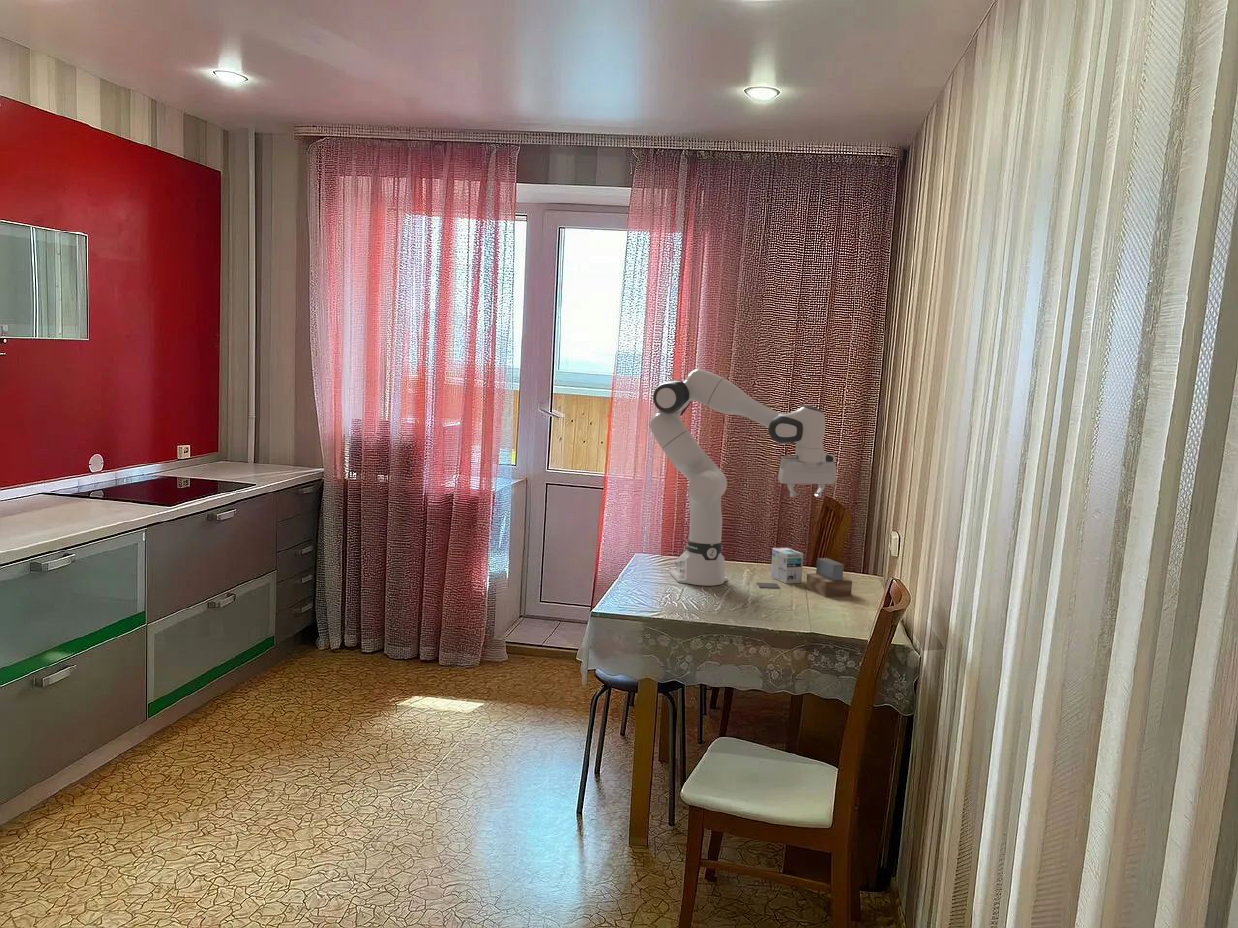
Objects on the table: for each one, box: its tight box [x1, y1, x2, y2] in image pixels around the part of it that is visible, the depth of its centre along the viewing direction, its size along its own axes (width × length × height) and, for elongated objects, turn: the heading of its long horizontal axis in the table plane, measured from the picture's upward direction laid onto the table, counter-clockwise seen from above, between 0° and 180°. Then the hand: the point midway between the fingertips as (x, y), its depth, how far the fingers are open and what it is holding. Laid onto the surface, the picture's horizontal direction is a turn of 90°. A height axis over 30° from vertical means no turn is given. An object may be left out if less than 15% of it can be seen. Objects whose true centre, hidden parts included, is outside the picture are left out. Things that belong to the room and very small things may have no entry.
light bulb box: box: [770, 547, 804, 584], centre depth 329 cm, size 11×7×11 cm, turn 22°
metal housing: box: [815, 557, 845, 581], centre depth 314 cm, size 4×10×6 cm, turn 20°
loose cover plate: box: [755, 582, 781, 590], centre depth 319 cm, size 6×7×1 cm
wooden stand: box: [805, 573, 853, 598], centre depth 315 cm, size 12×10×5 cm
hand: (805, 497), depth 309 cm, fingers open, 8 cm apart
